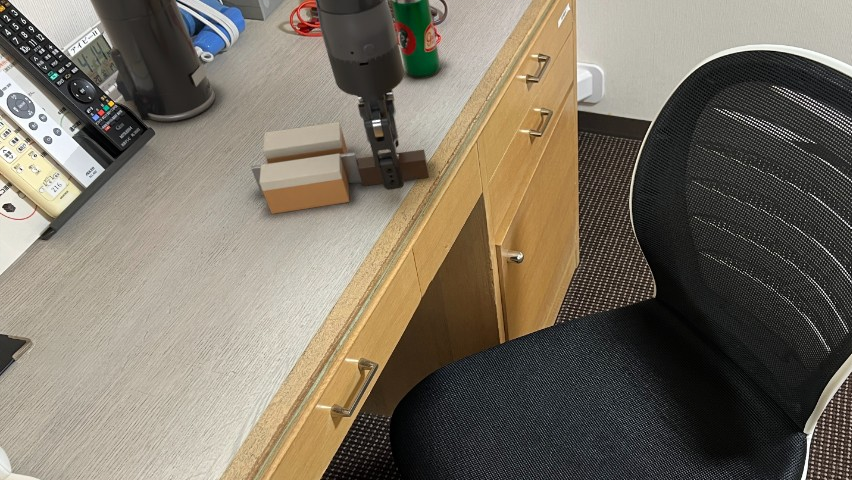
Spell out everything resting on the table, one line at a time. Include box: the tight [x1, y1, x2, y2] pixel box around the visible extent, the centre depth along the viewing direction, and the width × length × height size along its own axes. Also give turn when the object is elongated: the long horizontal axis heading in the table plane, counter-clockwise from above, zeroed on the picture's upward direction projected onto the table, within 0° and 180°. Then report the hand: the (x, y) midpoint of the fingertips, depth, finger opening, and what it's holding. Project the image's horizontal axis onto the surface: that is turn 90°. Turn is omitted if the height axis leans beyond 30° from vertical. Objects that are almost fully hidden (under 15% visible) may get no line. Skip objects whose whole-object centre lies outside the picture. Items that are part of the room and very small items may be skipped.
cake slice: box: [260, 154, 350, 215], centre depth 97 cm, size 9×4×4 cm, turn 103°
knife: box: [250, 149, 430, 196], centre depth 99 cm, size 20×2×4 cm, turn 101°
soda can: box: [389, 0, 441, 79], centre depth 114 cm, size 5×5×12 cm
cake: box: [262, 121, 349, 164], centre depth 101 cm, size 9×4×4 cm, turn 103°
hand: (392, 166), depth 100 cm, fingers open, 8 cm apart
